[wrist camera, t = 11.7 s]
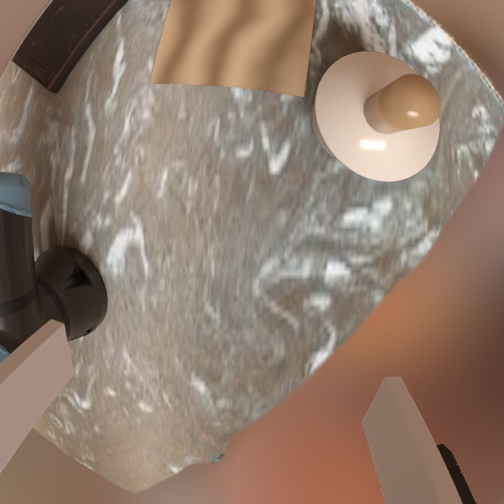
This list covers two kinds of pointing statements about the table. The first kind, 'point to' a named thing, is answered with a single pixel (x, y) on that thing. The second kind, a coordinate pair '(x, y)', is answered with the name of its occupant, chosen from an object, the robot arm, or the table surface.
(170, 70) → the mat
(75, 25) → the hardcover book
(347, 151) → the lid
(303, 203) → the table surface
